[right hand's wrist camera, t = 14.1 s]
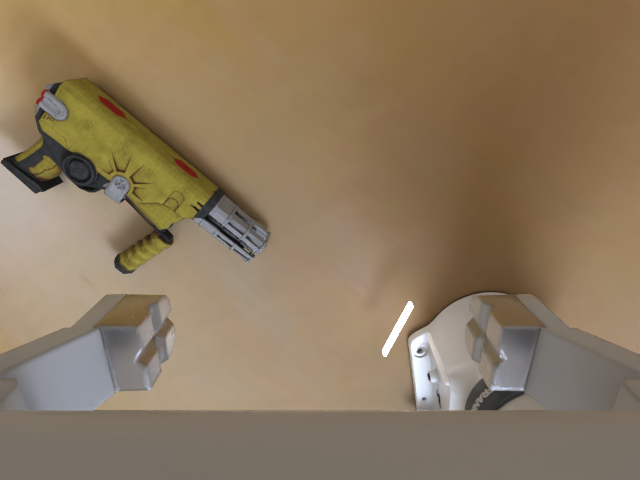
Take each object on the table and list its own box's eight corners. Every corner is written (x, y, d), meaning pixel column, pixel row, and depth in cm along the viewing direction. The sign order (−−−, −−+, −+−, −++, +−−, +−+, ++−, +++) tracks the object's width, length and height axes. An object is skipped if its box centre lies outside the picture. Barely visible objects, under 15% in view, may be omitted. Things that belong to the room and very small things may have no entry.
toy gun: (184, 327, 44) (266, 247, 38) (-21, 189, 36) (46, 68, 31) (197, 302, 48) (273, 227, 42) (16, 175, 41) (80, 66, 35)
